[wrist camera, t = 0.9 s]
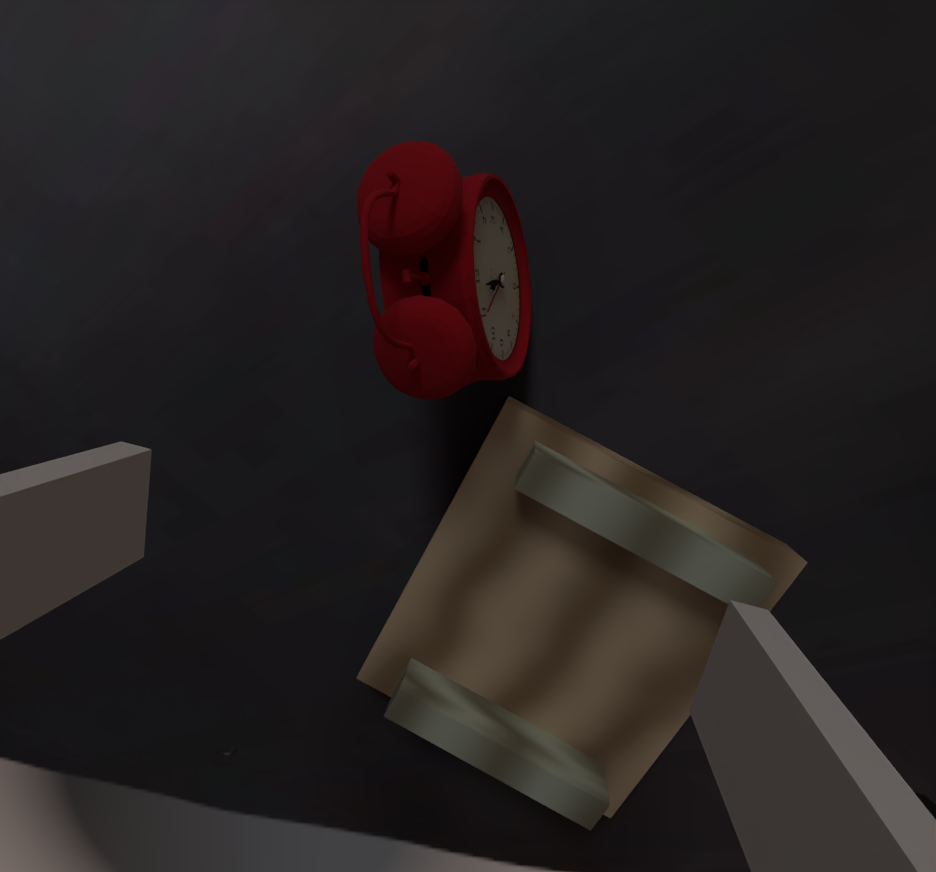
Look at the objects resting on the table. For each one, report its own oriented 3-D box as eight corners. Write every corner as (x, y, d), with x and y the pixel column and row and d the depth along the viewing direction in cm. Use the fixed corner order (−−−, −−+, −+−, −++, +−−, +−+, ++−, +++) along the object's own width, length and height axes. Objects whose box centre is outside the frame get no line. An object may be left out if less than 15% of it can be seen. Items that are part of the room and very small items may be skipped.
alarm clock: (536, 377, 31) (534, 421, 17) (434, 384, 32) (348, 432, 18) (524, 192, 29) (511, 58, 15) (416, 206, 30) (302, 93, 16)
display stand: (368, 654, 37) (339, 710, 31) (508, 395, 32) (502, 409, 26) (605, 785, 36) (617, 864, 31) (786, 544, 31) (837, 589, 26)
